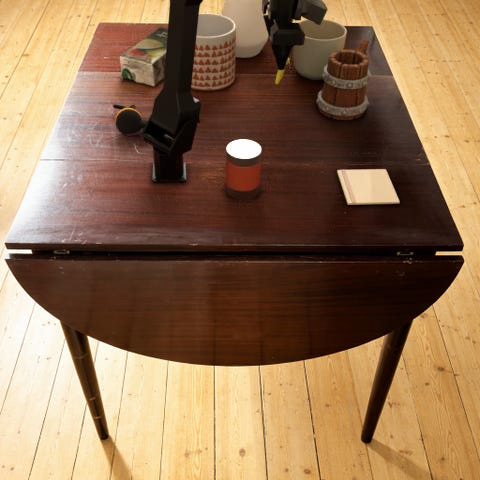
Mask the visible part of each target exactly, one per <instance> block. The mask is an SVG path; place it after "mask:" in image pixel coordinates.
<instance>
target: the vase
mask: <svg viewBox="0 0 480 480" xmlns="http://www.w3.org/2000/svg"><path fill="white" fill-rule="evenodd" d="M235 53H236V24H235V23H234V21H233V20H231V19H230V18H228V17H225V16H222V15H221V14H217V13H209V12H208V13H207V12H205V13H204V12H203V13H202V12H201V13H200V12H199V17H198V27H197V36H196V46H195V56H194V65H193V75H192V85H191V90H193V91H199V92H215V91H221V90H223V89H226V88H228V87H230V86H231V85H232V84H233V83H234V81H235V80H236V79H235V78H236V57H235Z"/></svg>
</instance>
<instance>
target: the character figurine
mask: <svg viewBox="0 0 480 480" xmlns="http://www.w3.org/2000/svg"><path fill="white" fill-rule="evenodd" d="M112 107H113V109H116V110H119V111H118V112H117V114H115V119H114V122H115V126H116V129H117V130H118V132H119V133H120V134H122V135H124V136H128V137H132V136H136V135H137V134H139V133H140V132H141V131H142V130H143V129H144V127H145V125H146V123H147V121H148V119H147V120H146V119H143V117H142V114H141V113H140V112H139V111H138V110H137V106H136V105H135V104H131V105H130V106H129V107H127V106H124V105H121V104H116V103H115V104H113V105H112Z"/></svg>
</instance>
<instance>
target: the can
mask: <svg viewBox="0 0 480 480" xmlns="http://www.w3.org/2000/svg"><path fill="white" fill-rule="evenodd" d="M225 149H226V153H225V154H226V155H225V193H226V194H227V196H229V197H231V198H232V199H235V200H239V201H247V200H251V199H254V198H255V197H257V196H258V195H259V192H260V184H261V171H262V146H261V145H260V144H259V143H258V142H256V141H254V140H250V139H236V140H233V141H231V142H229V143H228V144H227V146H226V148H225Z"/></svg>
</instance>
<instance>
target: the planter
mask: <svg viewBox="0 0 480 480" xmlns="http://www.w3.org/2000/svg"><path fill="white" fill-rule="evenodd" d="M298 23H299V24H300V25H301V26H302V28H303V30H304V33H305V41H304V45H302V46H294V47H293V48H292V54H293V55H292V59H293V66H294V69H295V71H296V73H298V74H299V75H300V76H302V77H303V78H305V79H307V80H311V81H324V79H323V77H322V76H323V71H324V67H325V66H326V65H327V64H328V60H329V55H330V54H331V53H333V52H335V51H338V52H339V50H345V45H346V39H347V33H348V30H347V28H346V27H345V25H342V23H339V22H337V21H334V20H330V19H325V18H324V19H323V21H322V23H321V25H317V24H315V22H313V21H310V20H308V19H303V20H301V21H298Z"/></svg>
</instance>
